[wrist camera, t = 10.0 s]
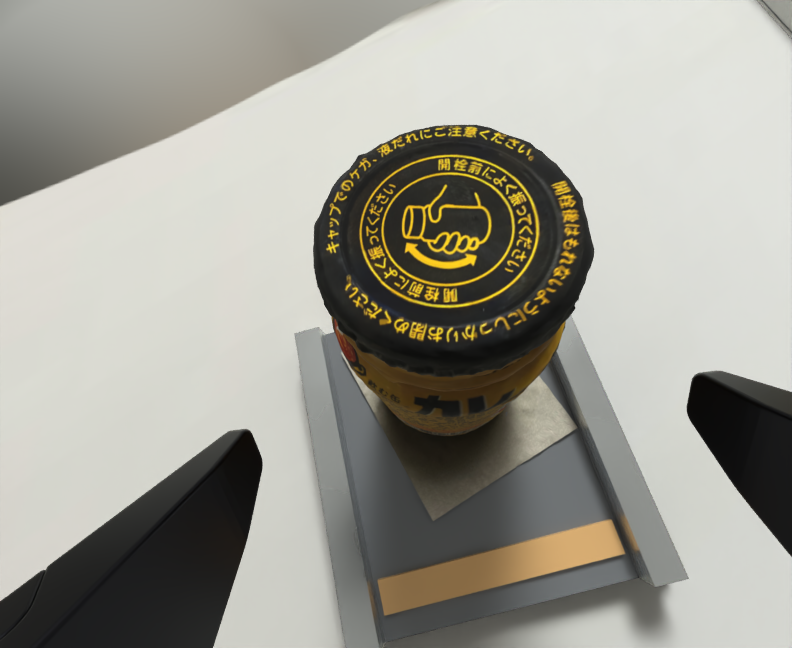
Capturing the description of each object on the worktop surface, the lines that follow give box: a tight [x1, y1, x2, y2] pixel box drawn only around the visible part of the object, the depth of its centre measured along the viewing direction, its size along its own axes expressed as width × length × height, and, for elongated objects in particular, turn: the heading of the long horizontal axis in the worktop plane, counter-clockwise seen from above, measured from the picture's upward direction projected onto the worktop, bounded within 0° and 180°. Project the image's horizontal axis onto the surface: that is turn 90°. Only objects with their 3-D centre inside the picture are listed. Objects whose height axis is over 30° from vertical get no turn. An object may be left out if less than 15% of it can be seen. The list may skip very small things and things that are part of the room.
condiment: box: [313, 125, 594, 521], centre depth 12 cm, size 7×8×12 cm
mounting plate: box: [326, 332, 639, 642], centre depth 17 cm, size 13×13×1 cm
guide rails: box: [295, 315, 689, 648], centre depth 16 cm, size 13×12×1 cm
